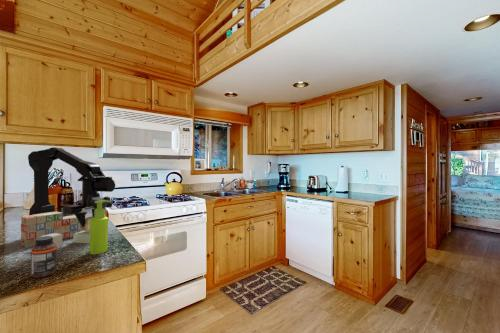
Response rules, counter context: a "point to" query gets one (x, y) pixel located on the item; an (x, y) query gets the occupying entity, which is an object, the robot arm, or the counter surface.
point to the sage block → (82, 237)
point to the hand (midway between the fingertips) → (89, 225)
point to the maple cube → (86, 224)
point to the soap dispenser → (99, 230)
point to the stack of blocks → (47, 226)
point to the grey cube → (56, 238)
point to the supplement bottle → (43, 257)
